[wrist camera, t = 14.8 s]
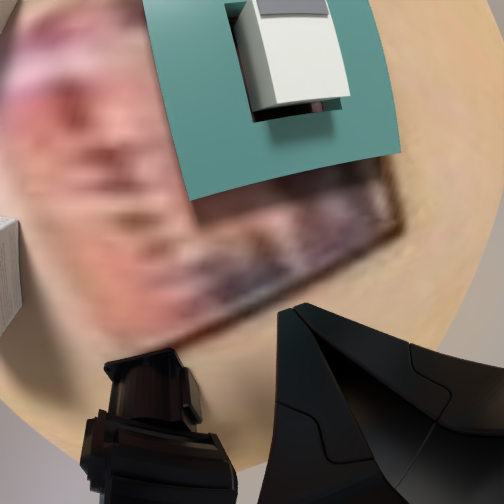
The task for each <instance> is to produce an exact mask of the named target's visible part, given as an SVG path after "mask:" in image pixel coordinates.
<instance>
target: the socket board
mask: <svg viewBox="0 0 504 504" xmlns="http://www.w3.org/2000/svg"><path fill="white" fill-rule="evenodd" d="M247 1H248V0H143V4H144V10H145V15H146V20H147V26H148V31H149V36H150V41H151V46H152V51H153V55H154V60H155V65H156V69H157V74H158V78H159V83H160V87H161V92H162V96H163V100H164V104H165V109H166V113H167V117H168V121H169V125H170V129H171V133H172V137H173V141H174V145H175V149H176V152H177V156H178V160H179V164H180V167H181V171H182V175H183V179H184V182H185V186H186V189H187V193H188V197H189V200H190V201H191V200H195V199H198V198H202V197H205V196H209V195H212V194H216V193H219V192H223V191H227V190H230V189H234V188H238V187H242V186H245V185H249V184H253V183H257V182H261V181H265V180H269V179H273V178H277V177H281V176H286V175H290V174H294V173H299V172H303V171H308V170H312V169H317V168H321V167H326V166H331V165H336V164H341V163H346V162H351V161H356V160H361V159H367V158H372V157H378V156H384V155H390V154H396V153H401V148H400V139H399V131H398V124H397V117H396V110H395V104H394V98H393V93H392V88H391V83H390V78H389V73H388V68H387V64H386V60H385V56H384V52H383V48H382V44H381V40H380V36H379V33H378V29H377V26H376V23H375V20H374V16H373V13H372V10H371V7H370V4H369V1H368V0H326V1H327V4H328V8H329V11H330V14H331V17H332V21H333V24H334V28H335V31H336V35H337V39H338V43H339V47H340V51H341V55H342V59H343V63H344V68H345V72H346V77H347V81H348V86H349V91H350V96H347V97H341V98H335V99H330V100H325V101H321V102H322V107H323V112H317V113H309V114H302V115H296V116H289V117H283V118H278V119H272V120H267V121H261V122H256V123H253V121H252V116H251V112H250V108H249V103H248V99H247V95H246V90H245V86H244V82H243V78H242V74H241V69H240V65H239V61H238V57H237V53H236V49H235V45H234V41H233V37H232V33H231V29H230V25H229V21H228V18H232V17H239V15H240V13H241V12H242V10H243V8H244V6H245V4H246V3H247Z"/></svg>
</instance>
